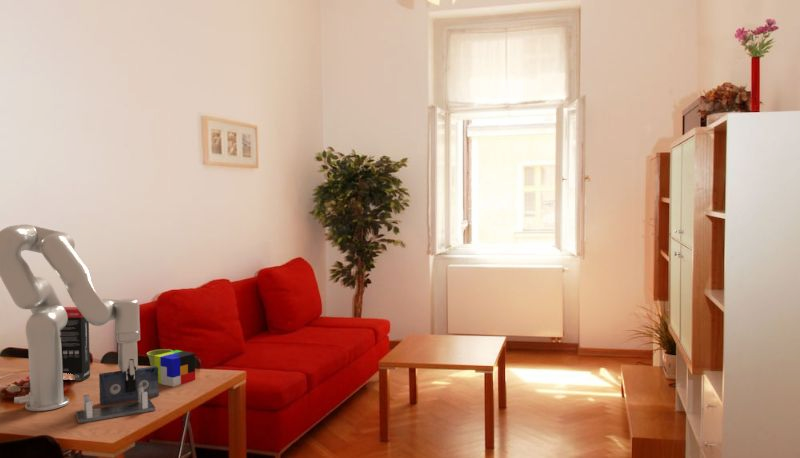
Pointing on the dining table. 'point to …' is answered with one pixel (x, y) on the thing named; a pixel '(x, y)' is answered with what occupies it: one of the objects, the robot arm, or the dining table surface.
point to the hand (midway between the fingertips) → (129, 389)
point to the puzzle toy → (175, 367)
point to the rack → (114, 408)
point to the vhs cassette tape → (115, 385)
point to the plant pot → (154, 353)
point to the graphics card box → (75, 345)
